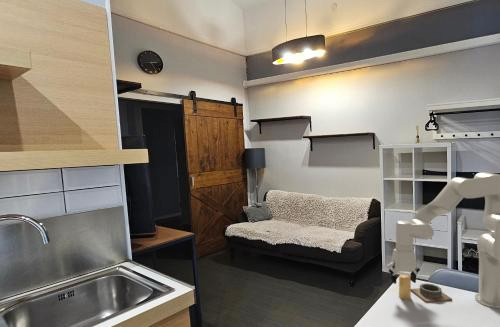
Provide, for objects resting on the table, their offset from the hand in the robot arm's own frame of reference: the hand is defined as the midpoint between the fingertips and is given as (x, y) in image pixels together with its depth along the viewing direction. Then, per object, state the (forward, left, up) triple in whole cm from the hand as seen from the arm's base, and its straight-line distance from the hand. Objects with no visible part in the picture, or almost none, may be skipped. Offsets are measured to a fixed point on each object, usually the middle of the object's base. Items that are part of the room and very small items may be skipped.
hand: (403, 282), depth 149 cm
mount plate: (-14, 0, -7) cm, 15 cm away
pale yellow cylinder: (-1, 0, -7) cm, 7 cm away
